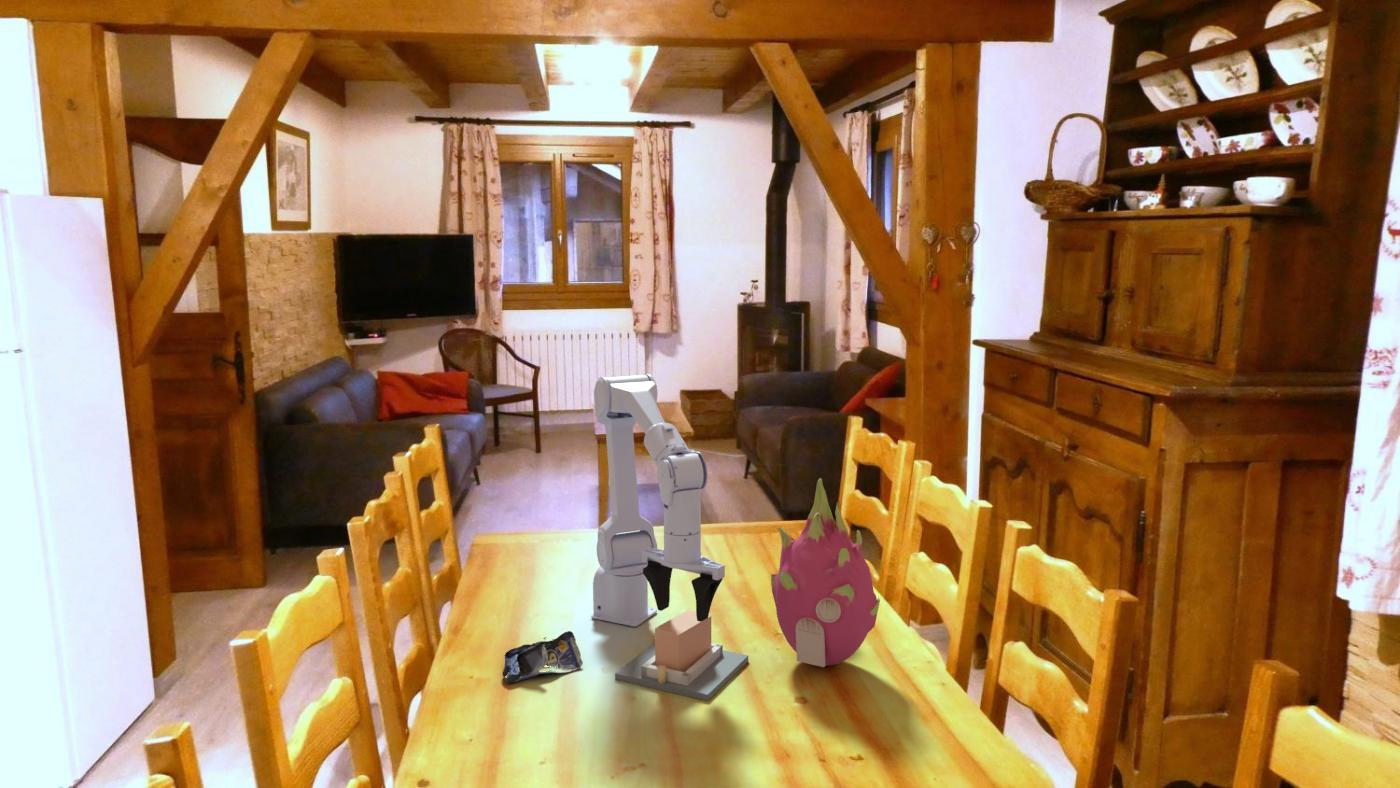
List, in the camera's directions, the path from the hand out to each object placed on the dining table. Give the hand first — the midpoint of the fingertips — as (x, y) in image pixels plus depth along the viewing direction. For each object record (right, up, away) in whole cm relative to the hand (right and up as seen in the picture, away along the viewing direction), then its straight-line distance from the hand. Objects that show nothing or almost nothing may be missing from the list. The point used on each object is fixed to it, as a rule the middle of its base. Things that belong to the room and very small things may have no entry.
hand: (682, 613), depth 151 cm
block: (0, -8, +2) cm, 8 cm away
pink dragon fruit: (+22, -9, +4) cm, 24 cm away
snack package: (-23, -10, +2) cm, 25 cm away
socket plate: (0, -9, +2) cm, 9 cm away
